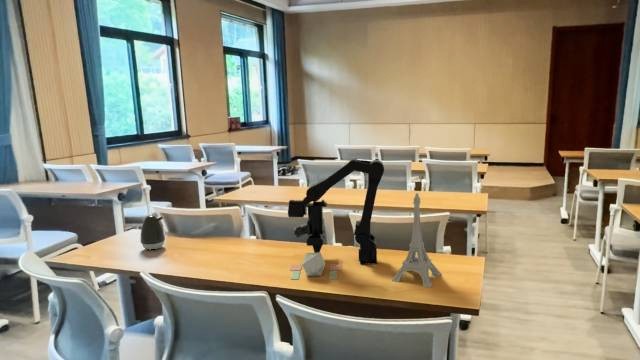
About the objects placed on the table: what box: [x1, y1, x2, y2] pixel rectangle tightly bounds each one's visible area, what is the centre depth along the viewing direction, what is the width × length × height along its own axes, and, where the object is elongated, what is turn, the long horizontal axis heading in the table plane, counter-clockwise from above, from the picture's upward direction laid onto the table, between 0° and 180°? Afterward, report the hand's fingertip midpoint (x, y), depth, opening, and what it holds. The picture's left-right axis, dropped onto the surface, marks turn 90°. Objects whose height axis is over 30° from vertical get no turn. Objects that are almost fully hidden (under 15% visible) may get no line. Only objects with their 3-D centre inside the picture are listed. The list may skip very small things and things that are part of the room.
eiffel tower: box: [391, 192, 442, 289], centre depth 150 cm, size 13×13×30 cm
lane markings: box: [289, 263, 342, 281], centre depth 161 cm, size 19×14×1 cm
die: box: [301, 251, 326, 277], centre depth 158 cm, size 8×9×10 cm
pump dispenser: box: [139, 214, 166, 251], centre depth 194 cm, size 10×10×15 cm
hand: (316, 256), depth 172 cm, fingers closed
